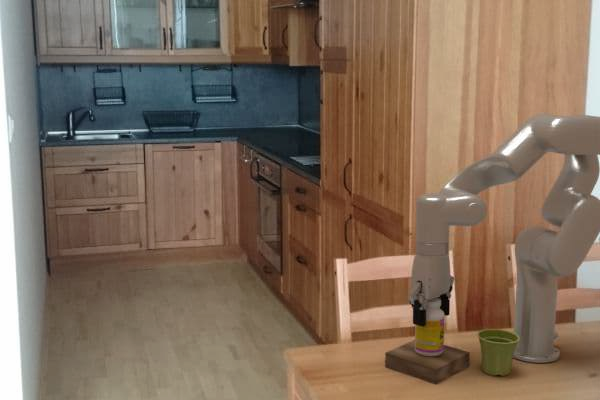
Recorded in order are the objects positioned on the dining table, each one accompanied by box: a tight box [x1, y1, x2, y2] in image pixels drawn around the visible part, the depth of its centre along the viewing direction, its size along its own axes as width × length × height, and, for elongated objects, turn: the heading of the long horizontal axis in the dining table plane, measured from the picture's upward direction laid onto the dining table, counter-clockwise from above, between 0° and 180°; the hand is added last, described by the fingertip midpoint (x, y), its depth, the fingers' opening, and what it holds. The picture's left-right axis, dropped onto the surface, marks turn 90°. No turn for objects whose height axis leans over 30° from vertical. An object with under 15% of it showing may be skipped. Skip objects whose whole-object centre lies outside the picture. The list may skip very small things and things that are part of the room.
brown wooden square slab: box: [384, 339, 471, 385], centre depth 177 cm, size 14×14×4 cm
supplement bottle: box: [414, 297, 446, 357], centre depth 175 cm, size 7×7×13 cm
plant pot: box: [476, 328, 520, 377], centre depth 174 cm, size 9×9×9 cm
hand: (431, 319), depth 175 cm, fingers open, 9 cm apart
